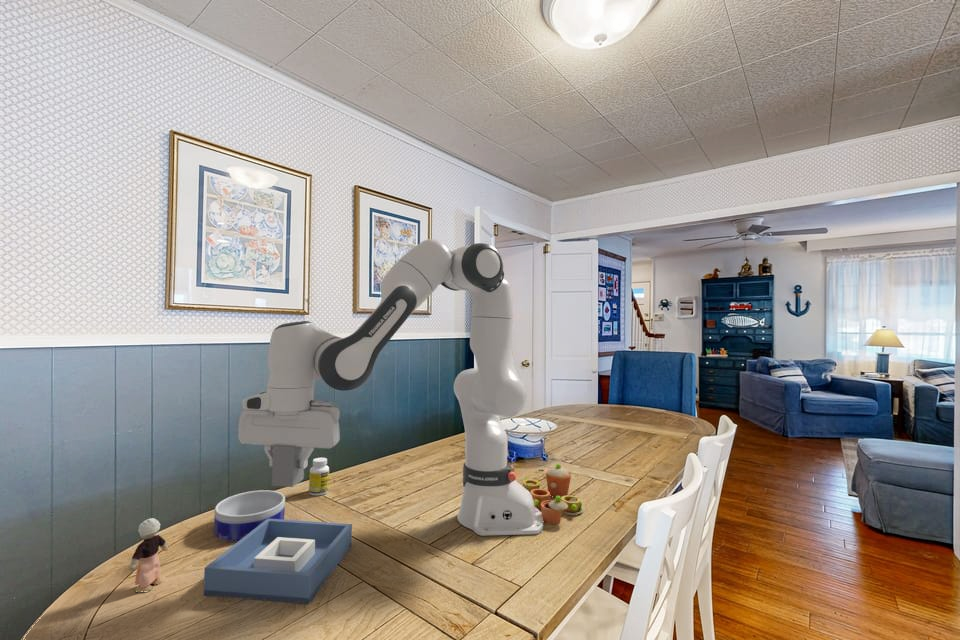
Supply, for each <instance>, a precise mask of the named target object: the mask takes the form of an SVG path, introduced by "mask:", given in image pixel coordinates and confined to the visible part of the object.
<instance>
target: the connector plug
mask: <svg viewBox="0 0 960 640" xmlns="http://www.w3.org/2000/svg"><path fill="white" fill-rule="evenodd" d="M304 454H305V452H302V447H296V446H284V445H273V462H272V467H271V486H273V487H287V488H288V487H289V488H292V487H295V486H296V485H297V484H299V483H300V482H301V481H303V480H304V479H305V478H304V477H305V469H299V468H297V460H298V459H300V458H302V457H303V455H304Z"/></svg>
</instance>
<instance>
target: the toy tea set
mask: <svg viewBox="0 0 960 640" xmlns="http://www.w3.org/2000/svg"><path fill="white" fill-rule="evenodd" d="M545 477H546V485H547V489H543V488H540V487H541V486H540V485H541V483H540V481H538V480H536V479H532V478H528V477H526V478H524V479H523V480H522V482H521V483H522V484H521V485H522V486H523V487H524V488H525V489H527V490H528V491H529V492H530V493H531V495H532V498H533V500H534V505H535V507H536V508H537V509H538V508H541V509H540V510H541V511H540V512H541V514H542V517H543V521H544V522H543V523H545V524H546V523H547V525H550V524H551V526H555V524H557V525H559V524H561V520H562V515H563V514H564V515H567V516H579V515H578V514H580V515H581V513H582V512H584V508H583V507H582V506H583V504H582V502H581V499H580V497H579V496H575V495H569V490H570V483H571V477H572V475H571V473H570V472H569V471H567V469H565V468H564V467H562V465H561V463H556V465H555V466H553V467H551V468H549V470H547V471H546V472H545ZM550 495H551V496H553V497H552V498H554V497H556V498H554V499H553V500H552V499H550V497H551V496H550ZM582 514H583V513H582Z"/></svg>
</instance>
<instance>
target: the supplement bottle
mask: <svg viewBox="0 0 960 640" xmlns="http://www.w3.org/2000/svg"><path fill="white" fill-rule="evenodd" d="M327 464H328V458H327V457H317V458H313V460H312V466H311V467H310V469H309V480H308V483H309V485H308V493H309V495H311V496H316V497H317V496H322V495H325V494H327V493H328V492H329V482H330V481H329V479H330V467H329V466H328V465H327Z"/></svg>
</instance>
